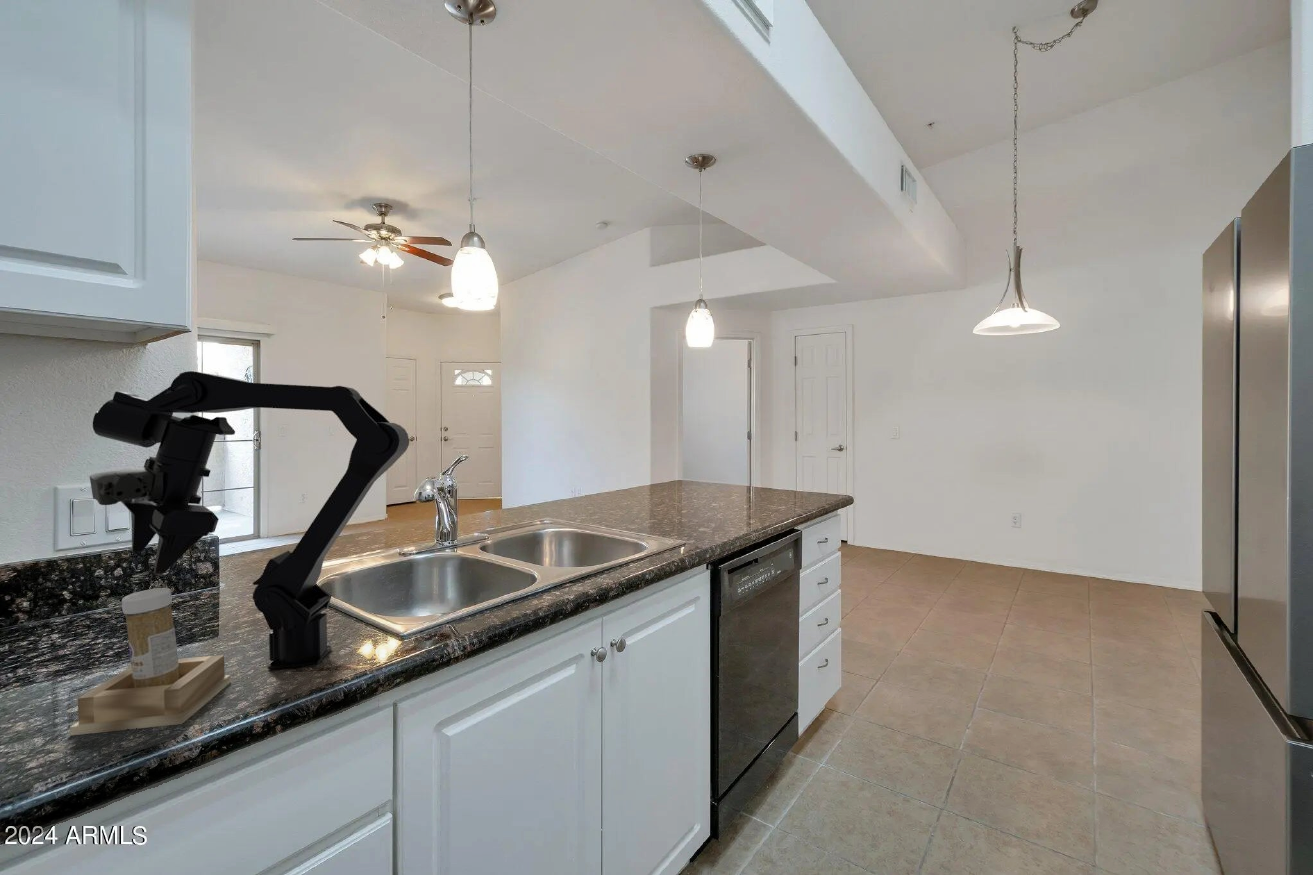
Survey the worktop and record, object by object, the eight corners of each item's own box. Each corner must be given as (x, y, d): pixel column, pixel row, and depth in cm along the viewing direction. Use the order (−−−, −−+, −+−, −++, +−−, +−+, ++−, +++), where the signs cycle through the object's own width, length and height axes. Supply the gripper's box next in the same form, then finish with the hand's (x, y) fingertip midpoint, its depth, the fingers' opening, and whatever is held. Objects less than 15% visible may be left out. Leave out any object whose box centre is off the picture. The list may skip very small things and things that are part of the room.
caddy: (230, 681, 77) (230, 653, 77) (182, 723, 66) (181, 690, 66) (136, 690, 74) (135, 661, 74) (70, 735, 64) (69, 701, 64)
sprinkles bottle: (127, 703, 69) (113, 597, 68) (171, 685, 73) (159, 585, 72) (146, 709, 67) (132, 600, 66) (191, 691, 71) (178, 587, 70)
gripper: (88, 432, 78) (51, 539, 78) (132, 464, 69) (90, 587, 68) (184, 446, 88) (151, 542, 87) (235, 476, 78) (199, 584, 77)
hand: (147, 561), depth 80 cm, fingers open, 9 cm apart
